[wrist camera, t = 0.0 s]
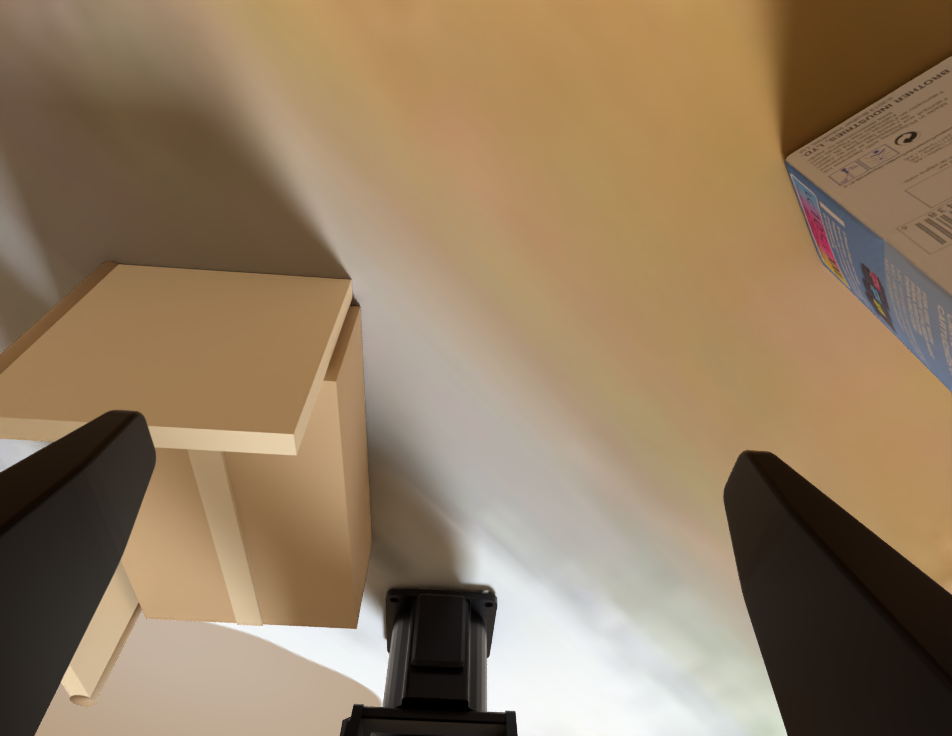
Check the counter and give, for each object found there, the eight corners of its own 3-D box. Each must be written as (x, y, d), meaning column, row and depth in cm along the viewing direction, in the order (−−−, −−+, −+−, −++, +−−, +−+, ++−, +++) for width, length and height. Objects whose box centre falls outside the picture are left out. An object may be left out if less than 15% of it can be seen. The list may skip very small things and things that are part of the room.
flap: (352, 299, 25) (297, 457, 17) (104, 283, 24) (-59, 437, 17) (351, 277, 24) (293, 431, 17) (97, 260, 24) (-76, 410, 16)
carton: (371, 543, 34) (355, 632, 29) (187, 533, 33) (144, 622, 29) (360, 306, 25) (335, 385, 21) (109, 290, 24) (31, 366, 20)
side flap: (182, 536, 33) (98, 707, 26) (163, 535, 33) (74, 705, 26) (130, 377, 27) (-1, 545, 20) (107, 376, 27) (-32, 543, 20)
